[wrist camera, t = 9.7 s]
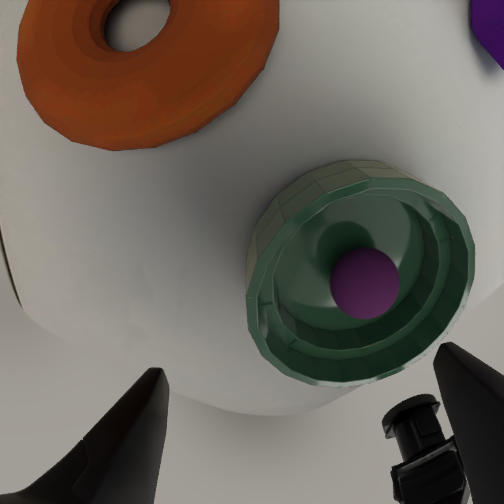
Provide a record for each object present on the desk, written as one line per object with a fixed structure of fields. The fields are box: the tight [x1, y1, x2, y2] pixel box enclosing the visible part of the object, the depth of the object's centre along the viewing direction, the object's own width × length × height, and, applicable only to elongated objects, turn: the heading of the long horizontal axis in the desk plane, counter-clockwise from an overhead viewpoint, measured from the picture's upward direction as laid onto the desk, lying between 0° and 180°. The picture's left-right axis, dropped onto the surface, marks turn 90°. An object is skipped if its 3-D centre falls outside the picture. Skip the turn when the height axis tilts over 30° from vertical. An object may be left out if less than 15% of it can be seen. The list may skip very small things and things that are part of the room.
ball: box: [330, 247, 400, 319], centre depth 18 cm, size 4×4×4 cm
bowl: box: [246, 160, 475, 388], centre depth 19 cm, size 14×14×5 cm
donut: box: [17, 0, 279, 151], centre depth 12 cm, size 15×15×5 cm
